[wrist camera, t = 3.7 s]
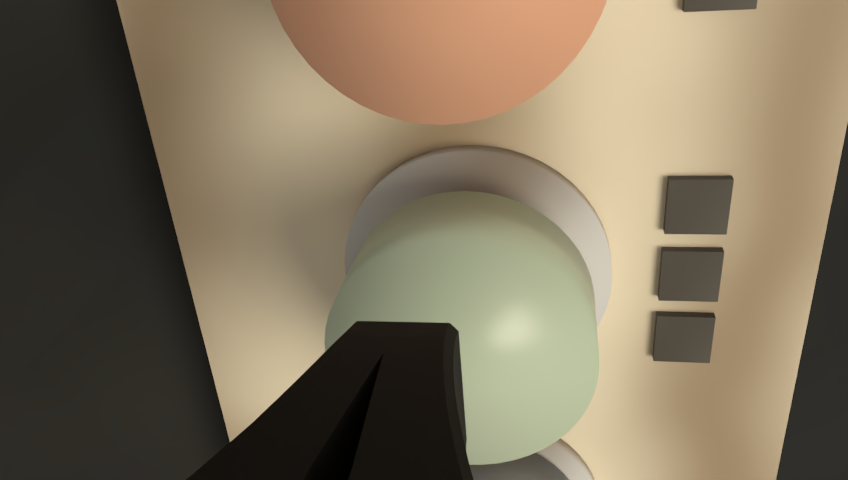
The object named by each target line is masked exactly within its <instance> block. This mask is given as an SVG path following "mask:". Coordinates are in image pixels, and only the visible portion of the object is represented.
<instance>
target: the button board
mask: <svg viewBox="0 0 848 480" xmlns="http://www.w3.org/2000/svg"><path fill="white" fill-rule="evenodd" d="M116 1H117V5H118V9H119V13H120V17H121V21H122V24H123V28H124V32H125V36H126V40H127V44H128V48H129V52H130V56H131V59H132V63H133V67H134V71H135V75H136V79H137V83H138V87H139V91H140V94H141V98H142V102H143V106H144V110H145V114H146V118H147V122H148V125H149V129H150V133H151V137H152V141H153V145H154V149H155V153H156V157H157V160H158V164H159V168H160V172H161V176H162V180H163V184H164V188H165V192H166V195H167V199H168V203H169V207H170V211H171V215H172V219H173V223H174V227H175V230H176V234H177V238H178V242H179V246H180V250H181V254H182V258H183V262H184V265H185V269H186V273H187V277H188V281H189V285H190V289H191V293H192V297H193V300H194V304H195V308H196V312H197V316H198V320H199V324H200V328H201V332H202V335H203V339H204V343H205V347H206V351H207V355H208V359H209V363H210V367H211V370H212V374H213V378H214V382H215V386H216V390H217V394H218V398H219V402H220V405H221V409H222V413H223V417H224V421H225V425H226V429H227V433H228V437H229V440H230V442H231V441H232V440H233V439H234V438H235V437H237V436H238V435H239V434H240V433H241V432H242V431H244V430H245V429H246V428H247V427H248V426H249V425H250V424H251V423H252V422H254V421H255V420H256V419H257V418H258V417H259V416H260V415H261V414H262V413H263V412H264V411H265V410H266V409H267V408H268V407H269V406H270V405H271V404H272V403H274V402H275V401H276V400H277V399H278V398H279V397H280V396H281V395H282V394H283V393H284V392H285V391H286V390H287V389H288V388H289V387H290V386H291V385H292V384H293V383H294V382H295V381H296V380H297V379H298V378H299V377H300V376H301V375H302V374H303V373H304V372H305V371H306V370H307V369H308V368H309V367H310V366H312V365H313V363H314V362H315V361H316V360H317V359H318V358H319V357H320V356H321V355H322V354H323V353H324V352H325V344H324V341H325V328H326V323H327V319H328V315H329V312H330V310H331V307H332V305H333V302H334V300H335V298H336V296H337V294H338V292H339V290H340V288H341V286H342V284H343V282H344V280H345V278H346V276H347V274H348V272H349V270H350V268H351V266H352V264H353V262H354V260H355V258H356V256H357V254H358V252H359V250H360V248H361V246H362V245H363V243H364V241H365V240H366V238H367V236H368V235H369V234H370V233H371V231H372V230H373V229H374V228H375V227H376V226H377V225H378V224H379V223H380V222H381V221H382V220H383V219H384V218H385V217H387V216H388V215H389V214H391V213H392V212H394V211H395V210H397V209H398V208H400V207H402V206H404V205H406V204H408V203H410V202H412V201H414V200H417V199H420V198H423V197H426V196H429V195H434V194H439V193H445V192H456V191H472V192H484V193H489V194H495V195H500V196H503V197H506V198H509V199H513V200H516V201H518V202H520V203H522V204H525V205H527V206H529V207H531V208H533V209H534V210H536V211H538V212H539V213H541V214H543V215H545V216H546V217H547V218H548V219H550V220H551V221H552V222H554V223H555V224H556V225H557V226H559V227H560V228H561V229H562V230H563V232H564V233H565V234H566V235H567V236H568V237H569V238H570V239H571V240H572V242H573V243H574V244H575V246H576V247H577V248H578V250H579V251H580V253H581V255H582V257H583V259H584V261H585V262H586V264H587V267H588V270H589V273H590V275H591V278H592V284H593V289H594V296H595V310H596V323H597V336H598V349H599V374H598V382H597V386H596V389H595V392H594V396H593V398H592V400H591V402H590V404H589V406H588V408H587V410H586V411H585V413H584V414H583V416H582V417H581V418H580V420H579V421H578V422H577V423H576V424H575V426H574V427H573V428H572V429H571V430H570V431H569V432H568V433H566V434H565V435H564V436H563V437H561V438H560V439H559V440H558V441H556V442H555V443H553V444H551V445H550V446H548V447H546V448H544V449H543V450H541V451H538V452H536V454H538V455H539V456H541V457H543V458H545V459H546V460H548V461H549V462H550V463H552V464H553V465H555V466H556V467H557V468H558V469H559V470H560V471H561V472H563V473H564V474H565V476H566V477H567V478H568V479H569V480H776V476H777V471H778V466H779V461H780V456H781V451H782V446H783V441H784V436H785V431H786V426H787V421H788V417H789V412H790V407H791V402H792V397H793V392H794V387H795V382H796V377H797V372H798V367H799V362H800V357H801V352H802V347H803V342H804V337H805V332H806V327H807V322H808V317H809V312H810V307H811V302H812V297H813V292H814V287H815V282H816V277H817V272H818V267H819V262H820V257H821V252H822V247H823V242H824V237H825V232H826V227H827V222H828V217H829V212H830V207H831V202H832V197H833V192H834V188H835V183H836V178H837V173H838V168H839V163H840V158H841V153H842V148H843V143H844V138H845V133H846V128H847V123H848V0H607V1H606V4H605V7H604V9H603V12H602V15H601V17H600V19H599V21H598V22H597V24H596V26H595V28H594V30H593V32H592V34H591V36H590V38H589V39H588V40H587V42H586V43H585V45H584V46H583V48H582V49H581V51H580V52H579V54H578V55H577V56H576V58H575V59H574V60H573V61H572V62H571V63H570V64H569V65H568V67H567V68H566V69H565V70H564V71H563V72H562V73H561V74H560V75H559V76H558V77H557V78H556V79H555V80H554V81H552V82H551V83H550V84H549V85H548V86H547V87H545V88H544V89H543V90H542V91H540V92H539V93H537V94H536V95H534V96H533V97H531V98H530V99H528V100H527V101H525V102H523V103H521V104H519V105H517V106H515V107H513V108H511V109H509V110H507V111H505V112H503V113H500V114H497V115H494V116H491V117H488V118H485V119H481V120H476V121H472V122H467V123H460V124H448V125H434V124H419V123H413V122H408V121H402V120H398V119H395V118H392V117H388V116H385V115H382V114H379V113H377V112H375V111H372V110H370V109H368V108H366V107H364V106H361V105H360V104H358V103H356V102H355V101H353V100H351V99H350V98H348V97H346V96H345V95H343V94H342V93H340V92H339V91H338V90H336V89H335V88H334V87H333V86H331V85H330V84H329V83H327V82H326V81H325V80H324V79H323V78H322V77H321V76H320V75H319V74H318V73H317V72H316V71H315V70H314V69H313V68H312V67H311V66H310V65H309V64H308V63H307V62H306V60H305V59H304V58H303V57H302V55H301V54H300V53H299V52H298V50H297V49H296V48H295V46H294V45H293V43H292V42H291V40H290V38H289V37H288V35H287V34H286V32H285V31H284V29H283V27H282V25H281V23H280V21H279V19H278V17H277V15H276V13H275V10H274V8H273V6H272V3H271V0H116Z"/></svg>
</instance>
